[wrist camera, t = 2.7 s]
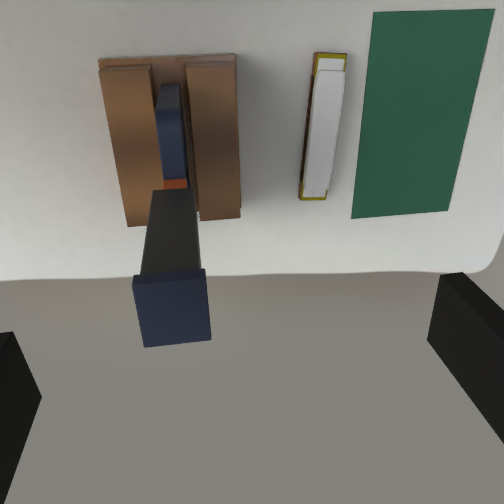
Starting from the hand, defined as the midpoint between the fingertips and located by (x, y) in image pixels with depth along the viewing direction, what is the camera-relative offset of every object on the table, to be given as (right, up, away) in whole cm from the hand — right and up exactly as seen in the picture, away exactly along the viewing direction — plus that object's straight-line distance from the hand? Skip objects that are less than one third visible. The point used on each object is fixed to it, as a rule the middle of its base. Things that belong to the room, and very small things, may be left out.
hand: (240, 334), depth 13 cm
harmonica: (+7, +15, +30) cm, 35 cm away
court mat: (+18, +16, +31) cm, 40 cm away
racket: (-7, +13, +28) cm, 31 cm away
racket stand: (-7, +14, +29) cm, 33 cm away
